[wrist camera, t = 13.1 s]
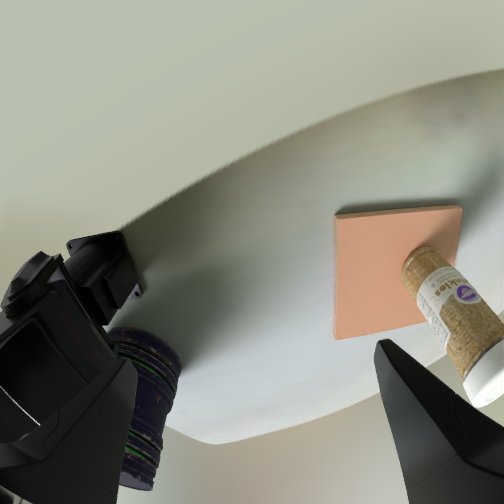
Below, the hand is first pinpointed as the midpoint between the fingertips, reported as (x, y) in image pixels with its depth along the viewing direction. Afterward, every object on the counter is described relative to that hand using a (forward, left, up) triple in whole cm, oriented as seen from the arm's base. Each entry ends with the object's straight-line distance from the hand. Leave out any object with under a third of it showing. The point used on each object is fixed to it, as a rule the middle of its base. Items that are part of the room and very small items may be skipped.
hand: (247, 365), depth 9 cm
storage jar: (-15, -14, -13) cm, 24 cm away
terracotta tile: (+12, -6, -13) cm, 19 cm away
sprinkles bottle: (+14, -5, -12) cm, 19 cm away
